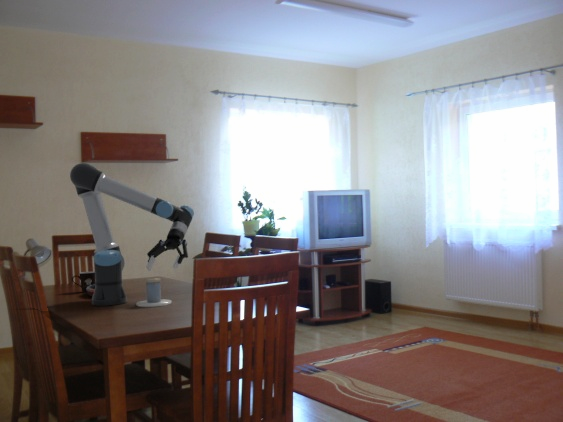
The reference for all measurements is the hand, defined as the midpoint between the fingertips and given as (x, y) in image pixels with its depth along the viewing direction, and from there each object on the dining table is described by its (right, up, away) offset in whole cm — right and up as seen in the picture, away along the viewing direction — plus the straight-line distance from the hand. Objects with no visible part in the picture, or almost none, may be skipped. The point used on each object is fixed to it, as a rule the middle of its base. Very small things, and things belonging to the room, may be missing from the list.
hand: (161, 268), depth 271 cm
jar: (-2, -14, -6) cm, 15 cm away
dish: (-35, -16, +31) cm, 50 cm away
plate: (-2, -15, -6) cm, 16 cm away
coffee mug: (-48, -16, +45) cm, 68 cm away
